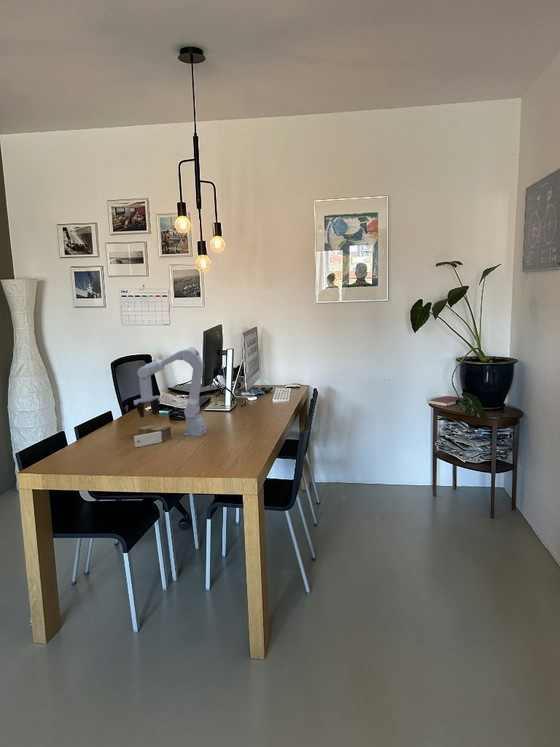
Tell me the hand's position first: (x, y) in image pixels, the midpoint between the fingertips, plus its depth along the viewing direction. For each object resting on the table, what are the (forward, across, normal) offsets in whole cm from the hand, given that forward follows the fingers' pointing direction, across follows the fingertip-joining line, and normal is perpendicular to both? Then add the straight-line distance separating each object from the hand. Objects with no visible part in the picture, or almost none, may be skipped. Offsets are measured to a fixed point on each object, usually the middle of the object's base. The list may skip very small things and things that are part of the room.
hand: (148, 415), depth 268 cm
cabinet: (+10, +4, +10) cm, 15 cm away
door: (+10, +12, +17) cm, 22 cm away
